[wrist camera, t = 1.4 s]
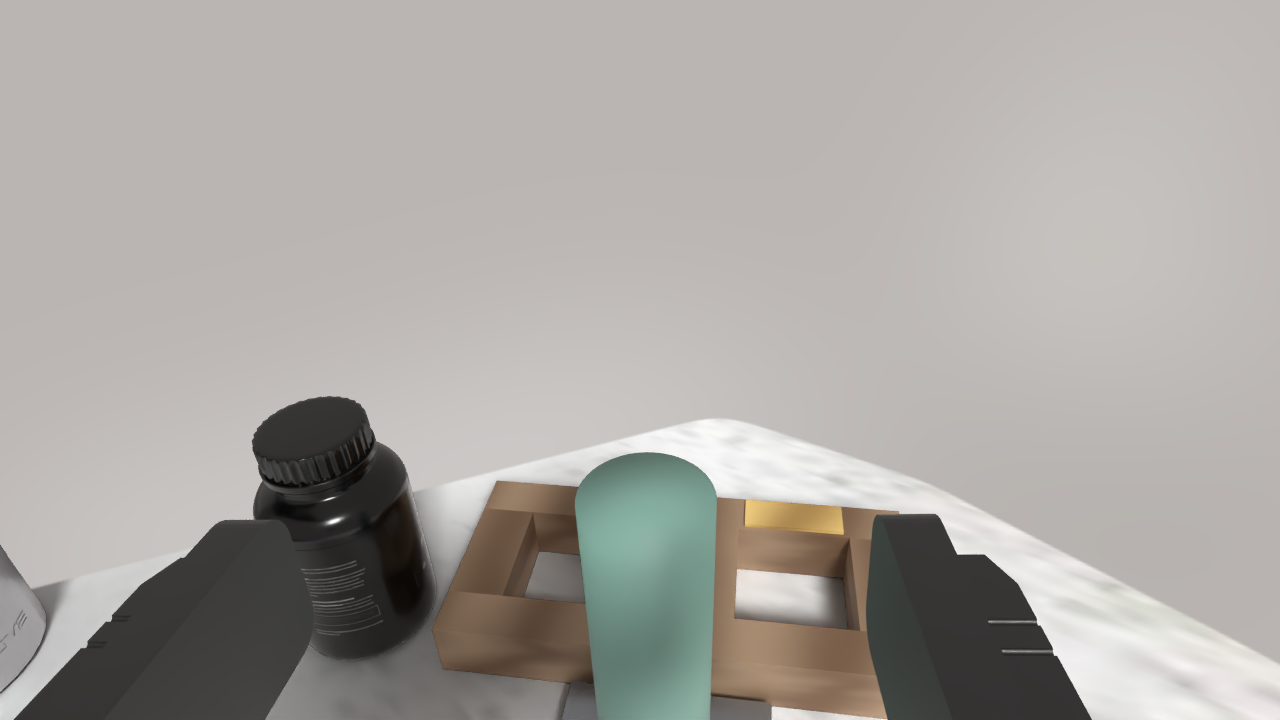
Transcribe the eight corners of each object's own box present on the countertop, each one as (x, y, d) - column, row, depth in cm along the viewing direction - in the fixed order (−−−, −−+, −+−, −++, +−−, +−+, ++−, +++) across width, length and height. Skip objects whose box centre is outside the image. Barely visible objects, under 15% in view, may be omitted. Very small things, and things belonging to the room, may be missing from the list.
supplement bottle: (465, 583, 41) (423, 403, 34) (376, 687, 36) (305, 500, 29) (369, 542, 43) (313, 369, 37) (273, 634, 38) (188, 452, 32)
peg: (598, 840, 29) (560, 545, 20) (616, 739, 32) (590, 448, 23) (703, 855, 28) (712, 559, 19) (710, 751, 31) (720, 457, 23)
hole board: (442, 668, 36) (430, 625, 35) (503, 518, 45) (496, 478, 43) (919, 722, 33) (932, 678, 32) (890, 551, 42) (899, 508, 40)
